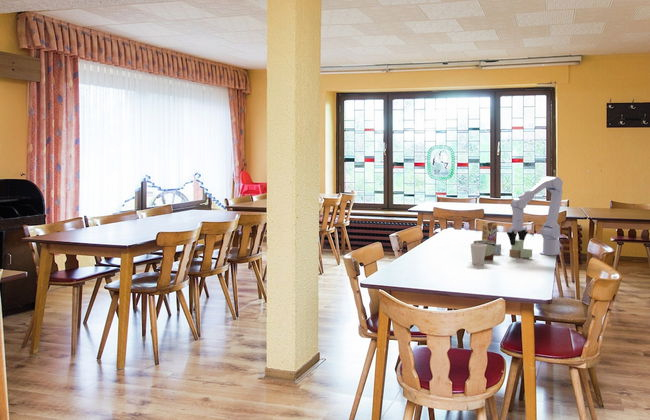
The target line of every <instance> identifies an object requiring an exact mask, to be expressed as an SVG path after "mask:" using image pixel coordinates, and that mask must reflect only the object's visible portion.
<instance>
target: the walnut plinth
mask: <svg viewBox="0 0 650 420" xmlns="http://www.w3.org/2000/svg"><path fill="white" fill-rule="evenodd" d="M520 253H521V250H519V251H517V250H511V249H509V257H512V258H517V259H518V258H519V259H520V258H521V257H520Z"/></svg>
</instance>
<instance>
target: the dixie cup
mask: <svg viewBox="0 0 650 420" xmlns="http://www.w3.org/2000/svg"><path fill="white" fill-rule="evenodd" d="M469 246H470V253H471V263H473V265H478V264H479V265H480V264H481V265H484V264H485V261H484V258H485V251H486V246H487V245H486V244H480V243H470V245H469Z"/></svg>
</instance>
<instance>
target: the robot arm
mask: <svg viewBox="0 0 650 420" xmlns="http://www.w3.org/2000/svg"><path fill="white" fill-rule="evenodd" d="M563 183H564V181H563V180H562V178H561V177H559V176H544V177H542V178H541V179H540V181H539V182H538V183H537V184H536V185H535V186H534V187H532V188H531V189H527V190H524V191H523V193H521V194H520V195H518V196H517V197H515V198H513V199H512V200H511V202H510V207H511V211H512V220H511V221H512V222H511V224H512V225H511V227H510V228H507V231H506V234H507V236H508V239H509V243H510V244H509V245H515V239H517V235H518V239H519V240H524V241H525V239H526V236H527V235H528V227H525V226H524V211H525V210H524V209H525V208H526V206H527V205H528V203H530V202H531V201H532V200H533V199H534V198H535V195H536V194H539V193H540V192H541V191H543V190H548V191H549V192H550V194H551V196H550V203H549V206H548V207H549V208H548V212H547V213H548V214H547V218H546V221H545V222H544V223H543V225H542V227H541V229H540V235H541V236H542V239H543V242H542V252H539V254H540V255H544V256H557V255H562V253H561V241H560V240H559V238H560V236H561V230H560V228H561V226H560V225H559V223H558V219H559V215H560V213H559V212H560V208H561V202H562V198H563ZM523 244H524V242H523Z"/></svg>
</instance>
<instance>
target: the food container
mask: <svg viewBox="0 0 650 420" xmlns="http://www.w3.org/2000/svg"><path fill="white" fill-rule="evenodd" d="M473 243H480V244H486V245H487V246H486V251H485V258H484V260H485V261H488V262H494V256H495V254H494V251H495V246H496V244H497V242H496V243H495V242H494V241H484V240H482V239H481V240H479V239H478V240H474V241H473ZM473 243H472V244H473ZM485 261H484V262H485Z"/></svg>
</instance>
